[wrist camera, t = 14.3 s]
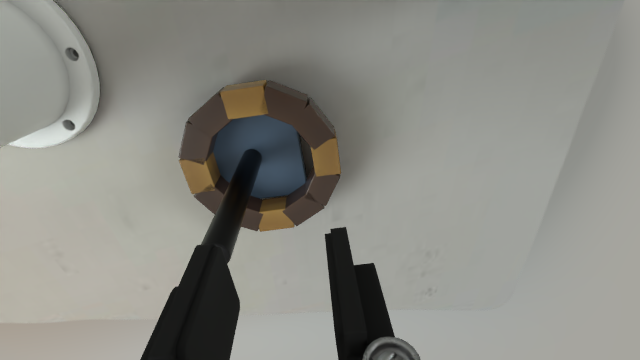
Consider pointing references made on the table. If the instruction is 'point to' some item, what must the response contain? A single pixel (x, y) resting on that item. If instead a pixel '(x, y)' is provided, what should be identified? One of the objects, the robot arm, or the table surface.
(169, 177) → the table surface
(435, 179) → the table surface
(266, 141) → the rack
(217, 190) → the ring
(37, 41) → the robot arm
